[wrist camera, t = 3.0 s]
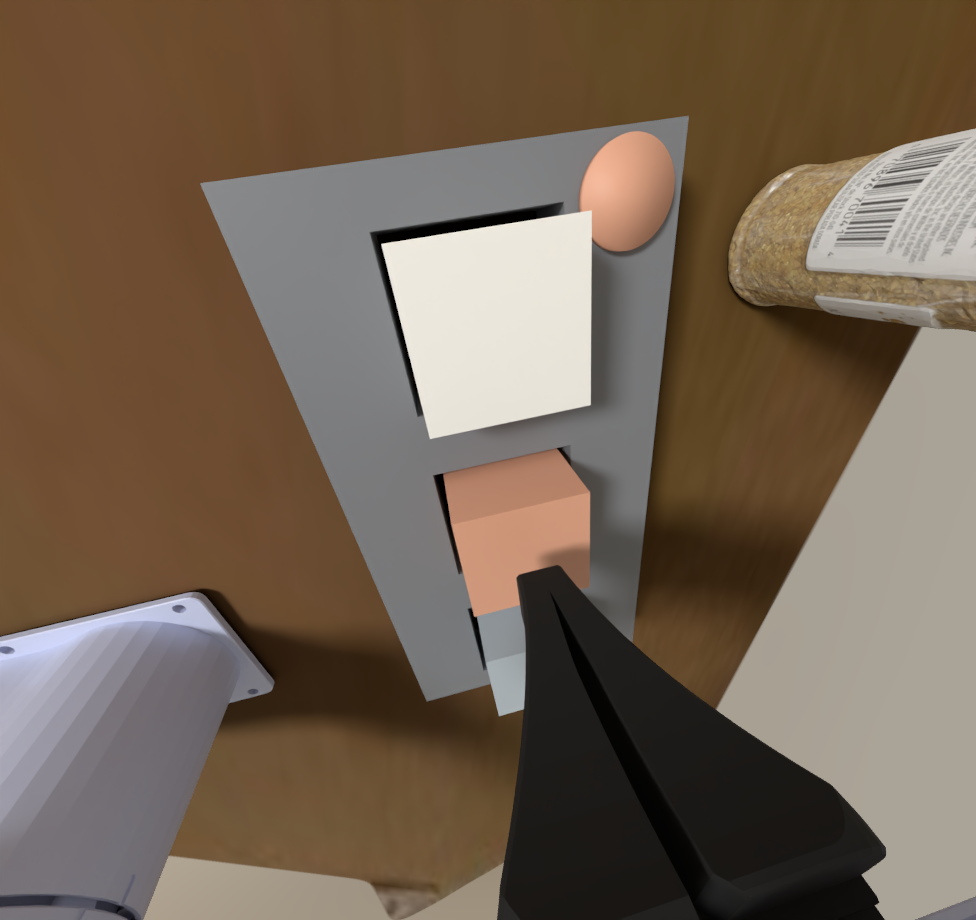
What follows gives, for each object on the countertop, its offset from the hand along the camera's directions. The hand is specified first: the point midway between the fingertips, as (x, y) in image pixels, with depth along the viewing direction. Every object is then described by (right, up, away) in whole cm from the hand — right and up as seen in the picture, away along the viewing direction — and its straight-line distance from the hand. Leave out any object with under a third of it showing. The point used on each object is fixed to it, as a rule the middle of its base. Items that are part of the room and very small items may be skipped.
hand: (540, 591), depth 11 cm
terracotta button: (-1, +2, +4) cm, 5 cm away
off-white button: (-2, +9, 0) cm, 9 cm away
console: (-1, +3, +5) cm, 6 cm away
